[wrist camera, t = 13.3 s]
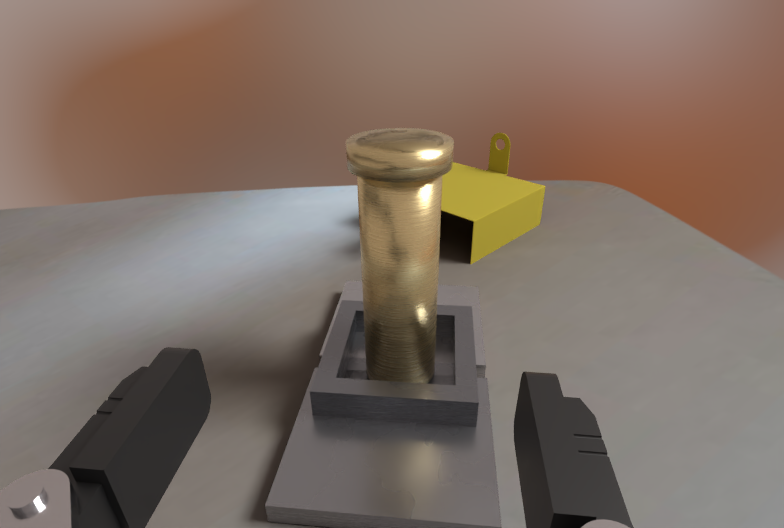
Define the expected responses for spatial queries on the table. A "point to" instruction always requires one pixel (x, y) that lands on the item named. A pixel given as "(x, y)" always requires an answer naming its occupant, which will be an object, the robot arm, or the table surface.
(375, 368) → the hinge pin
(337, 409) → the grey socket base plate
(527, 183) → the bracket
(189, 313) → the table surface
